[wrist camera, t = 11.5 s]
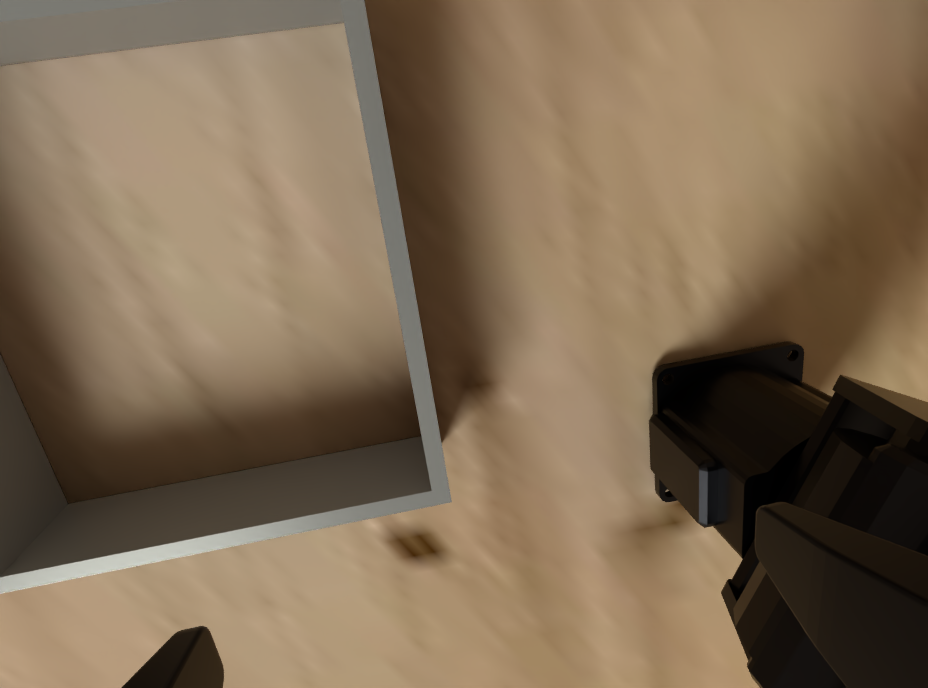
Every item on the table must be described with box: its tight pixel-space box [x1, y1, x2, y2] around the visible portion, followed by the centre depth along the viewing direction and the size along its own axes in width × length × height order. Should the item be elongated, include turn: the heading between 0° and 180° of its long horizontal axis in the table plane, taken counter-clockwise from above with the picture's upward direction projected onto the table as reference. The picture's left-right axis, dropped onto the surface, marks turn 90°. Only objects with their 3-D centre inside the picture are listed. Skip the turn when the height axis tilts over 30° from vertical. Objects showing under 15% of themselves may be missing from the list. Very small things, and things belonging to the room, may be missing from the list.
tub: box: [0, 0, 452, 594], centre depth 17 cm, size 15×16×4 cm
